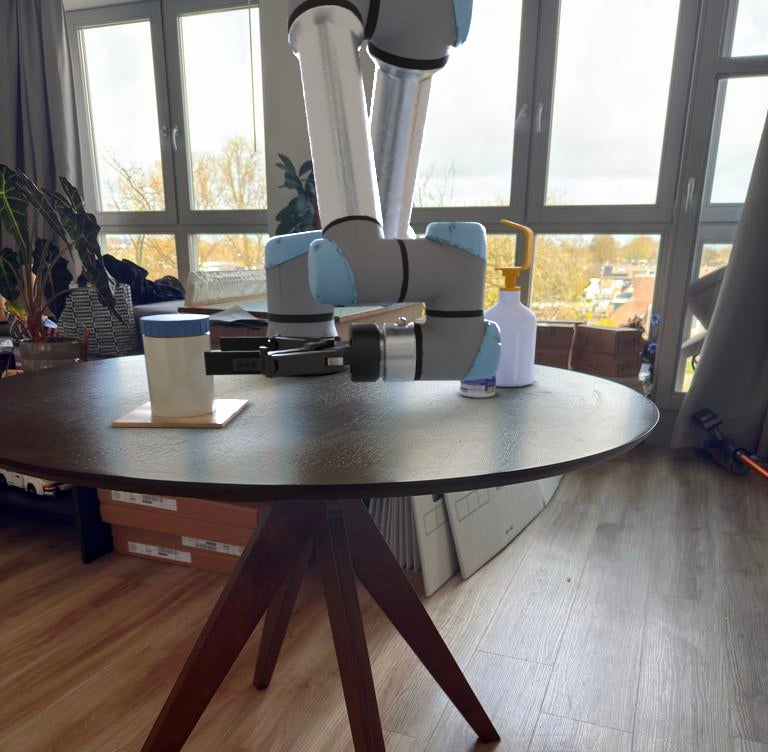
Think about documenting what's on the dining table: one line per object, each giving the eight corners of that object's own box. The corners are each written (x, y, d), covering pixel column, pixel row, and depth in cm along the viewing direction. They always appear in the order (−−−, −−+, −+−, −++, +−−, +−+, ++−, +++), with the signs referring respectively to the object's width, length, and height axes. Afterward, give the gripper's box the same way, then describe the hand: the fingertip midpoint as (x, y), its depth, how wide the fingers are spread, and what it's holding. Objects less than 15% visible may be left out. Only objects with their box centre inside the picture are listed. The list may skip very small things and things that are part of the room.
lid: (157, 328, 97) (155, 313, 97) (219, 328, 96) (218, 314, 96) (128, 336, 89) (126, 320, 88) (196, 336, 88) (195, 320, 88)
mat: (152, 403, 104) (151, 399, 103) (248, 404, 103) (248, 399, 103) (112, 426, 90) (111, 422, 90) (222, 428, 90) (221, 423, 89)
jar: (164, 403, 101) (154, 317, 96) (223, 404, 100) (216, 317, 96) (141, 417, 93) (130, 324, 89) (206, 418, 92) (197, 324, 88)
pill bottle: (494, 398, 105) (497, 336, 102) (458, 397, 106) (460, 336, 103) (496, 391, 110) (499, 332, 107) (462, 390, 111) (464, 331, 108)
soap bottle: (484, 376, 123) (491, 220, 114) (537, 379, 120) (549, 220, 111) (470, 385, 115) (476, 219, 106) (527, 389, 112) (538, 218, 103)
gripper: (373, 313, 104) (224, 315, 102) (387, 334, 81) (194, 337, 79) (373, 366, 106) (228, 368, 105) (387, 401, 83) (200, 404, 82)
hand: (213, 355), depth 92 cm, fingers open, 13 cm apart
